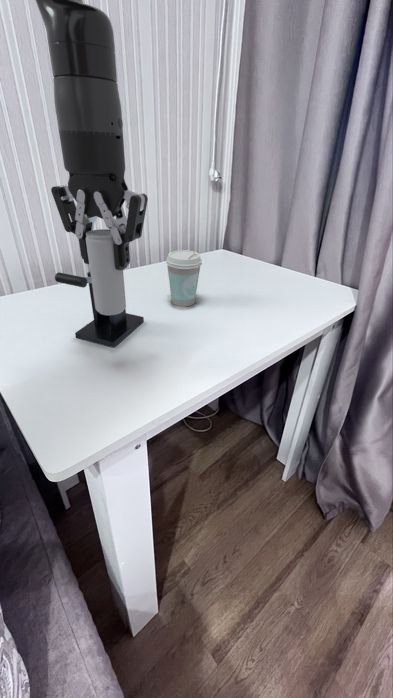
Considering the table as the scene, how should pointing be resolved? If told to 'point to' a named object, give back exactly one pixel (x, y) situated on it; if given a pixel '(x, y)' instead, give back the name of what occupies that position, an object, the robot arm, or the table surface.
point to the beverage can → (105, 273)
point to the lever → (72, 279)
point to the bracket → (108, 326)
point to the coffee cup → (183, 276)
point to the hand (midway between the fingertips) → (106, 265)
